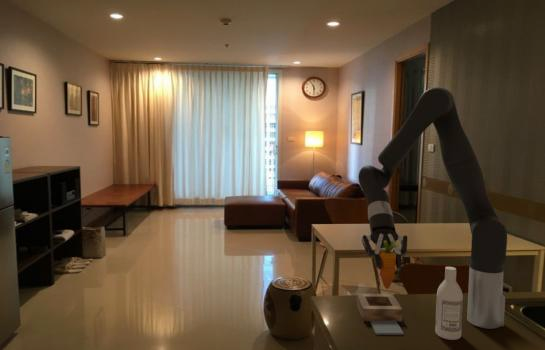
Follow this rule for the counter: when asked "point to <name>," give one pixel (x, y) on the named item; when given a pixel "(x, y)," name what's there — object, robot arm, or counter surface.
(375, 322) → the plate
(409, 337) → the counter surface
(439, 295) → the bath foam
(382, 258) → the carrot
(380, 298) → the holder
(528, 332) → the counter surface
